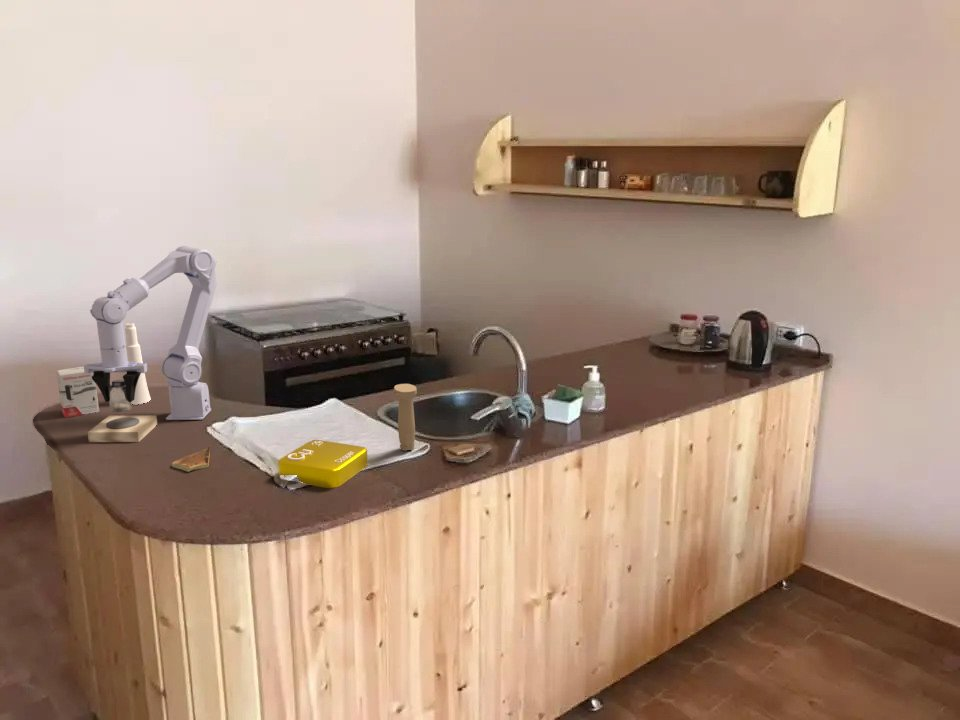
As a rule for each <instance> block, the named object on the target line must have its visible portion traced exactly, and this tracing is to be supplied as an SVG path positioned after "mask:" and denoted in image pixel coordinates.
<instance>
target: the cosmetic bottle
mask: <svg viewBox="0 0 960 720" xmlns="http://www.w3.org/2000/svg"><path fill="white" fill-rule="evenodd" d="M124 334H125V342H126V351H127V359H128V362H134V363H144V362H143V357H142V356H143V355H142V350H141V345H140V343H139V342H138V340H139V339H138V333H137V327H136V326H135V322H127V323H126V324H125V327H124ZM145 373H146V372H145ZM145 373H141V374H140V377H139V379H138V382H137V385H136V389H135V397H134V400H133V401H132V404H133V405H132V406H137V405H138V404H139V405H144V404H143V403H145V404H147V402H148V403H149V401H150V400H151V401H152V399H151V398H152V397H151V396H150V395H151V394H150V392H149V388H148V384H147V379H146V374H145ZM151 401H150V402H151Z"/></svg>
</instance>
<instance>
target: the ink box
mask: <svg viewBox="0 0 960 720" xmlns="http://www.w3.org/2000/svg"><path fill="white" fill-rule="evenodd" d="M93 374H94V373H84V366H78V367H72V368H64V369H59V370H57V371H56V378H57V385H58V391H59V393H58V394H59V399H60V400H59V401H60V408H61V413H62V415H63V417H64V418H72V417H77V416H84V415H88V414H89V413H90V414H95V412H96V413H99V412H100V408H99V406H100V405H99V399H98V393H97V392H98V391H97V384H96V383H95V382H94V381H93V380H92V376H93ZM83 414H84V415H83ZM90 414H89V415H90Z"/></svg>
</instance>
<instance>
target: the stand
mask: <svg viewBox="0 0 960 720" xmlns="http://www.w3.org/2000/svg"><path fill="white" fill-rule="evenodd" d="M157 417H158V416H157V415H153V414H152V415H107V417H105V418H104V419H103V420H101V421H100V422H99V423H97V425H95V426H93V428H91V429H90V430H89V431H87V439H88V443H140V442H141V440H143V439H144V438H145V437H146V436H147V435H148V434H149V433H150V432H151V431H152V430H153V429H155V428H156V425H157V426H158V418H157Z"/></svg>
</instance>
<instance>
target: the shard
mask: <svg viewBox="0 0 960 720" xmlns="http://www.w3.org/2000/svg"><path fill="white" fill-rule="evenodd" d="M210 449H211V448H210V447H209V446H208V447H207V448H205V449H202V450H200V451H197V452H194V453H190V454H189V455H186V456H183V457H180V458H178V459H176V460H174V461H173V462H172V463H171V467H173V468H174V469H179V470H182V471H185V472H188V473H189V472H191V471H196V470H200V469H207V468H209V466H210V457H211V453H210Z"/></svg>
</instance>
